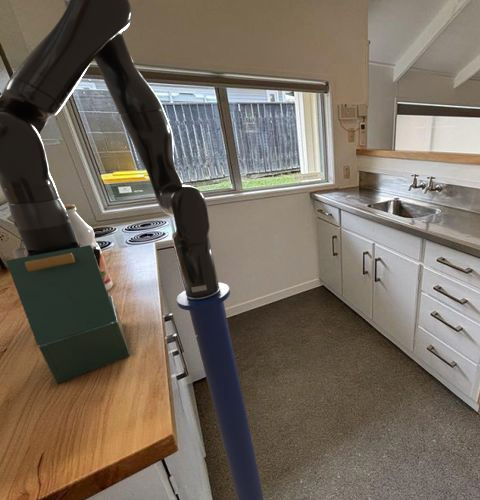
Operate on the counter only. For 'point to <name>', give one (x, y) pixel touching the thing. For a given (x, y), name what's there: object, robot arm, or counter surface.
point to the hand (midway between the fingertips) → (74, 297)
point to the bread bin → (86, 350)
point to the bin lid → (61, 293)
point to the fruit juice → (87, 240)
